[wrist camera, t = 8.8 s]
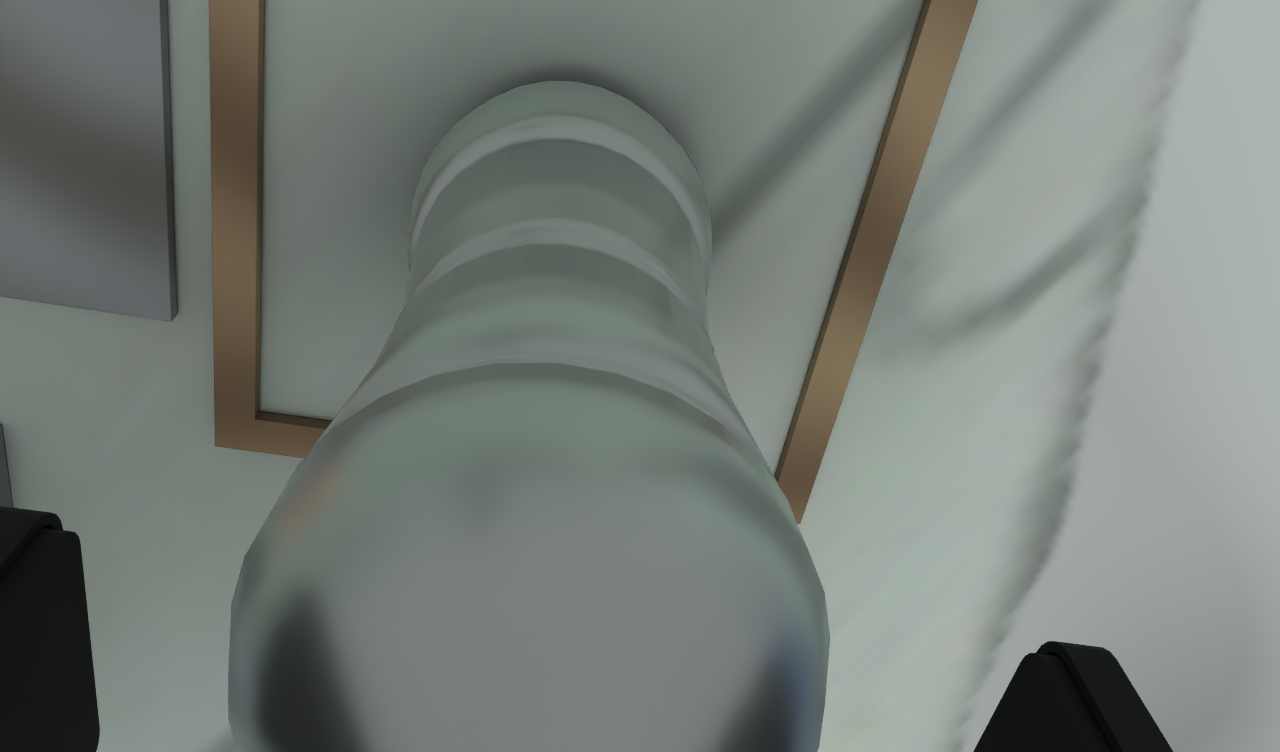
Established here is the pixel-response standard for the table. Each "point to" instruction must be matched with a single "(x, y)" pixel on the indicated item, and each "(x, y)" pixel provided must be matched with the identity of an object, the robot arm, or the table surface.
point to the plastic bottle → (538, 482)
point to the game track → (143, 195)
